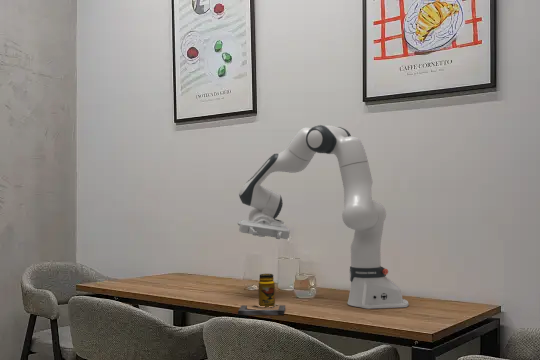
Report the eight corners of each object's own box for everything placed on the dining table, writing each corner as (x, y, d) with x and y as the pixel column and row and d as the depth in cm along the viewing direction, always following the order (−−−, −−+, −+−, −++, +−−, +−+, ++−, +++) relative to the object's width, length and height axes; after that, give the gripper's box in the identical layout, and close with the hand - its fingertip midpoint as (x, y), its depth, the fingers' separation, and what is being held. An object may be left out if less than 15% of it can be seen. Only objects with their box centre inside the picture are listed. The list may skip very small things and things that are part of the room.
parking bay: (285, 309, 226) (285, 305, 226) (283, 315, 216) (283, 310, 216) (241, 309, 228) (241, 305, 228) (238, 315, 218) (238, 310, 218)
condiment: (270, 308, 229) (269, 276, 229) (250, 306, 233) (249, 274, 233) (279, 305, 235) (279, 273, 235) (260, 303, 239) (259, 272, 240)
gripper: (238, 214, 253) (242, 223, 240) (287, 221, 257) (293, 231, 243) (235, 229, 254) (239, 239, 241) (284, 236, 258) (290, 246, 245)
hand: (266, 235), depth 242 cm, fingers open, 8 cm apart
